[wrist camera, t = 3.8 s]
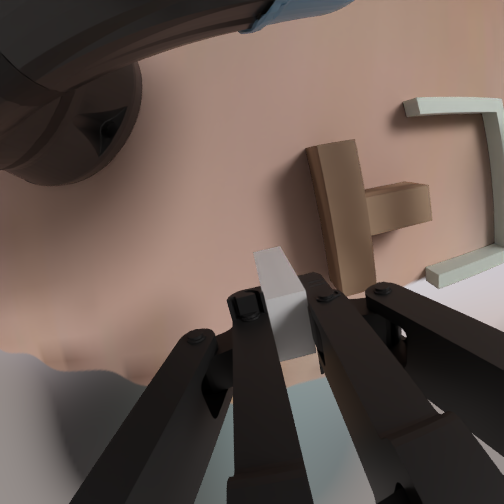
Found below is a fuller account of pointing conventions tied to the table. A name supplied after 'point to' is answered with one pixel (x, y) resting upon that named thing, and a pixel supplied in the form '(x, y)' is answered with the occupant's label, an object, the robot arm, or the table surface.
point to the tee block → (358, 212)
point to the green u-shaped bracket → (500, 153)
